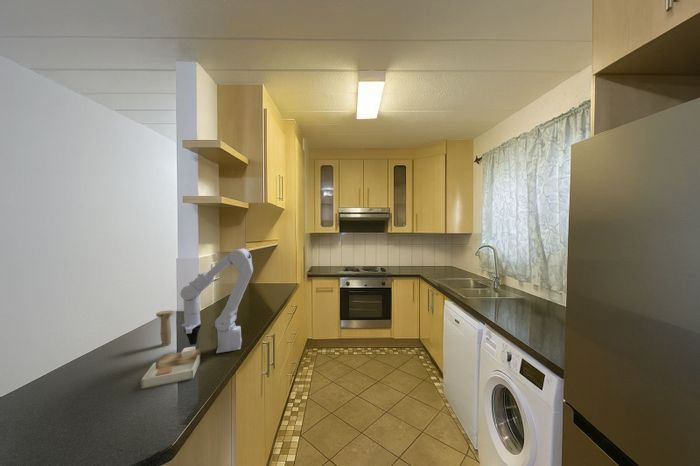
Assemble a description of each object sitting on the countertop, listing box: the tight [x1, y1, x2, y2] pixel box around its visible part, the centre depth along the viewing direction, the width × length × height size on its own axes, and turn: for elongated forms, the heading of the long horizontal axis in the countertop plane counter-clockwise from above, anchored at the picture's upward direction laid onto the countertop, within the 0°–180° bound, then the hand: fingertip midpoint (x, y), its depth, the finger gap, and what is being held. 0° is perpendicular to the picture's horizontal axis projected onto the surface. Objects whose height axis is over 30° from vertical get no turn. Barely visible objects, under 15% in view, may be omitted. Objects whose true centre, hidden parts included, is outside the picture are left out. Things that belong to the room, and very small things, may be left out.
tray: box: [140, 355, 201, 390], centre depth 94 cm, size 15×12×3 cm
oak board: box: [156, 348, 202, 369], centre depth 103 cm, size 13×7×2 cm, turn 110°
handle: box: [155, 309, 174, 347], centre depth 119 cm, size 5×6×15 cm
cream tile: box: [180, 346, 196, 357], centre depth 104 cm, size 4×4×2 cm
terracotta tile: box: [156, 366, 172, 376], centre depth 92 cm, size 4×4×2 cm
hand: (193, 344), depth 112 cm, fingers closed
